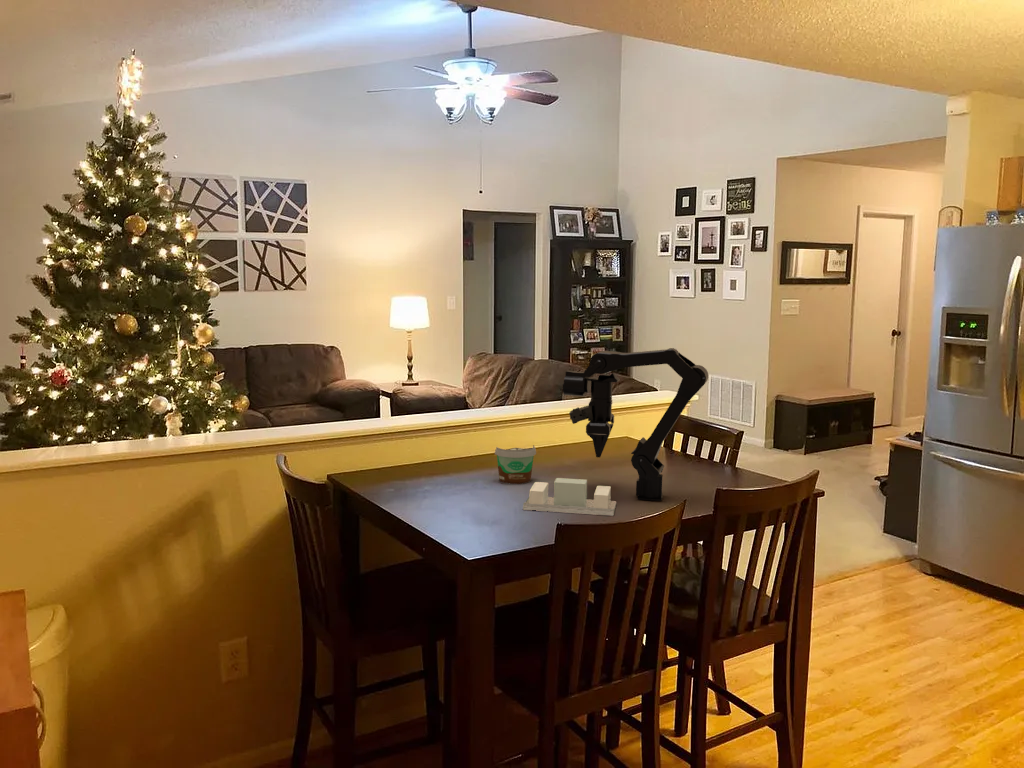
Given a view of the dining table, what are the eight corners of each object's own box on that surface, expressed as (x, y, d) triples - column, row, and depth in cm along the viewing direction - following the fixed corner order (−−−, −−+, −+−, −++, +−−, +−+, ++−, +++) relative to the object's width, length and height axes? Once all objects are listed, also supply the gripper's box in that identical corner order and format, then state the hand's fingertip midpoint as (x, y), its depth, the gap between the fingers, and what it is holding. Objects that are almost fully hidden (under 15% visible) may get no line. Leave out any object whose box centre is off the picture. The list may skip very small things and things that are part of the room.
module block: (556, 500, 218) (556, 477, 218) (586, 502, 217) (587, 479, 216) (553, 504, 214) (554, 482, 213) (584, 506, 212) (585, 484, 212)
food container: (499, 486, 236) (499, 451, 234) (494, 480, 242) (494, 447, 240) (541, 483, 239) (541, 449, 238) (534, 478, 245) (535, 445, 243)
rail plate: (616, 504, 218) (616, 498, 218) (613, 515, 208) (613, 509, 208) (529, 499, 223) (529, 493, 222) (523, 509, 213) (523, 503, 213)
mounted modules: (610, 501, 218) (610, 486, 217) (607, 511, 209) (608, 495, 209) (535, 496, 222) (535, 481, 221) (529, 505, 213) (529, 490, 212)
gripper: (575, 391, 237) (574, 445, 239) (567, 401, 219) (566, 459, 221) (615, 392, 235) (613, 447, 237) (610, 403, 217) (608, 462, 219)
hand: (599, 453), depth 228 cm, fingers open, 9 cm apart
